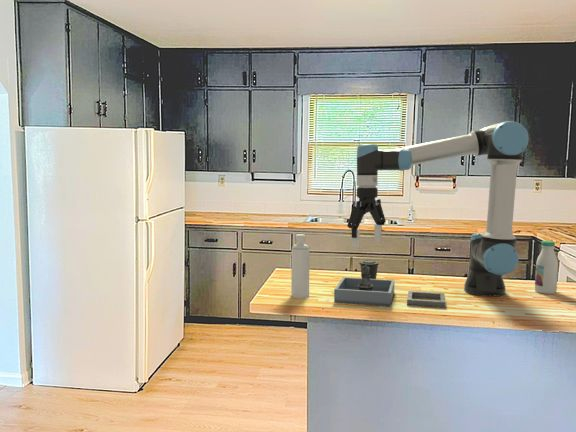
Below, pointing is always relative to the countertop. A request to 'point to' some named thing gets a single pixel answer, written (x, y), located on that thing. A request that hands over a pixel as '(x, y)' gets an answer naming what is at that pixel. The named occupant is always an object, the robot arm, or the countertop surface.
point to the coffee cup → (372, 265)
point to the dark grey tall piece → (365, 279)
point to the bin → (364, 292)
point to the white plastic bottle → (300, 268)
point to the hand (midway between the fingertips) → (367, 244)
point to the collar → (426, 302)
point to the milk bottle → (546, 269)
